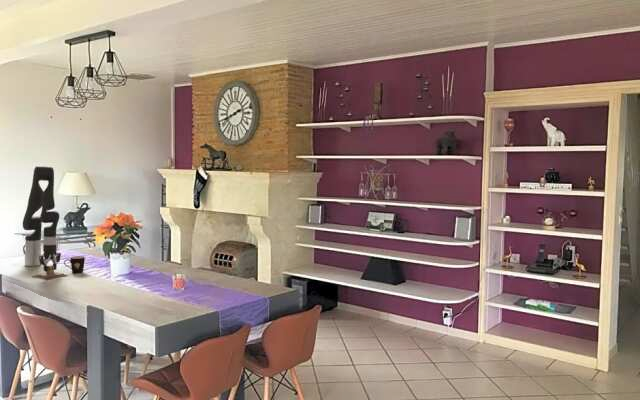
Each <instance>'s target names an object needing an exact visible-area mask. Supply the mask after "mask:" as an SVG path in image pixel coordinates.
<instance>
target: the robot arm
mask: <svg viewBox="0 0 640 400" xmlns="http://www.w3.org/2000/svg"><path fill="white" fill-rule="evenodd" d="M40 181H43V182H44V181H46V182H47V186H46V188H45V189H44V190H43V188H42V187H41V185H40ZM54 189H55V170H54V167H53V166H47V165H45V166H44V165H36V166H35V167H34V169H33V175H32V181H31V188H30V193H29V196H28V201H27V206H26V211H25V214H24V216H23V220H22V227H23V230H24V231H33V232H32V233H30V234H27V235H26V236H25V251H24V265H25V266H26V267H37V266H41V265H42V266H43V268H42V269H43V270H42V271H44V273H46V272H47V266H48V263H49V262H50V261H51V262H52V266H54V271H55V270H57V264H58V263H60V261H61V255H62V253H61V252H58V247H57V246H58V241H57V240H58V239H57V227H58V224H59V220H60V213H59V212H58V211H56V210H55V211H54V210H53V209H55V207H56V205H55V204H56V203H55V197H54V194H55V191H54ZM39 210H41V211H40V214H39V215H40V216H39V215H38V216H37V215H35V213H37V212H38V211H39ZM50 210H51V211H50ZM52 210H53V211H52ZM43 224H51V225H47V226H45V227H42V225H43ZM42 228H43V238H42ZM42 239H43V240H42ZM42 251H43V254H42Z"/></svg>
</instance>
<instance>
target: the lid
mask: <svg viewBox="0 0 640 400" xmlns="http://www.w3.org/2000/svg"><path fill="white" fill-rule="evenodd" d="M64 274H65V273H63V272H57V271H55V270H54V266H53V264H49V265H47V272H41V273H36V276H39V277H44V278H52V277H57V276H62V275H64Z"/></svg>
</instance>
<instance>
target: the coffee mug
mask: <svg viewBox="0 0 640 400" xmlns="http://www.w3.org/2000/svg"><path fill="white" fill-rule="evenodd" d="M69 258H70V259H69ZM69 258H68V259H65V260H64V261H63V264H64V265H65V266H66V267H67V268H69V269H71V273H72V274H73V275H76V274H82V273H84V267H85V260H86V256H82V255H76V256H75V255H74V256H70V257H69ZM67 261H69V263H70V265H69V266H68V265H67V264H66V262H67Z"/></svg>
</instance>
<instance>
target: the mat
mask: <svg viewBox="0 0 640 400" xmlns="http://www.w3.org/2000/svg"><path fill="white" fill-rule="evenodd" d="M31 277H32V278H35V279H41V280H46V281H49V280H53V279H58V278H63V277H68V274H66V273H64V275H62V276H57V277H52V278H44V277H39V276H36V275H32V276H31Z"/></svg>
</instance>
